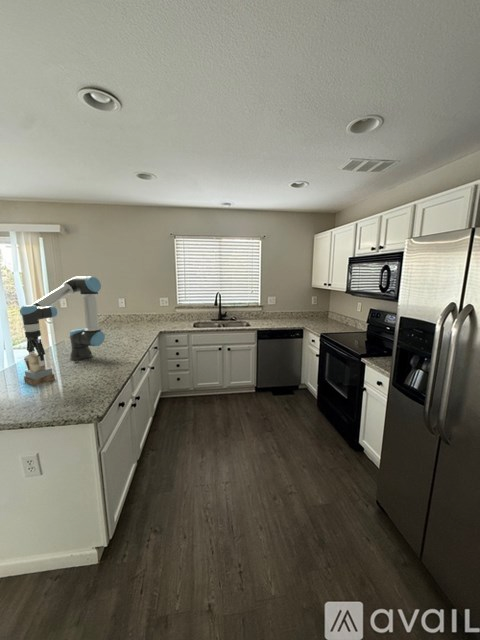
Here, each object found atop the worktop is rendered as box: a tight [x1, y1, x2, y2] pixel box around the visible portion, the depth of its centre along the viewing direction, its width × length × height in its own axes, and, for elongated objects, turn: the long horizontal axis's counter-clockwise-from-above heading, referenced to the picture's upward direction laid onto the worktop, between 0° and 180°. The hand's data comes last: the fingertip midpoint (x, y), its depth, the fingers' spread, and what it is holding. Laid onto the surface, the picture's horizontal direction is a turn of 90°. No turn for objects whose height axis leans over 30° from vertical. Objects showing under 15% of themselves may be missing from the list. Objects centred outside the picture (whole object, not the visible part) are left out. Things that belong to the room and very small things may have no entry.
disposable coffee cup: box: [23, 355, 30, 370], centre depth 178 cm, size 10×10×12 cm
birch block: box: [27, 352, 46, 372], centre depth 163 cm, size 6×6×10 cm
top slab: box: [24, 366, 53, 380], centre depth 164 cm, size 10×10×4 cm
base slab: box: [23, 373, 56, 387], centre depth 165 cm, size 12×12×4 cm
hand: (37, 363), depth 163 cm, fingers open, 13 cm apart
